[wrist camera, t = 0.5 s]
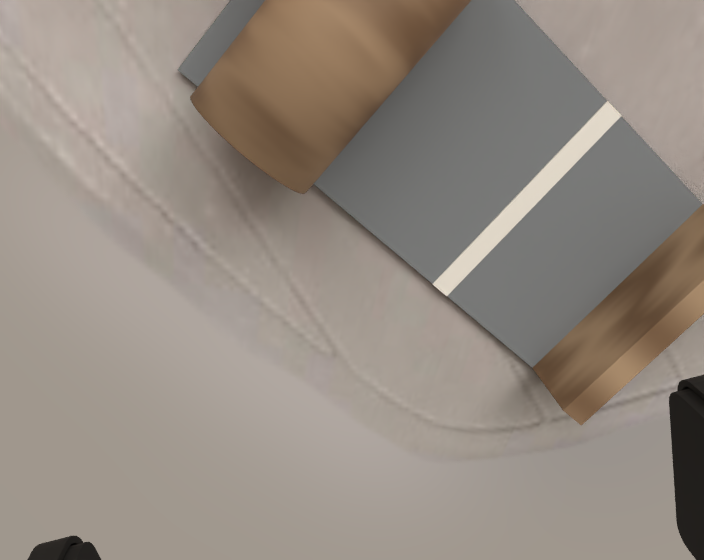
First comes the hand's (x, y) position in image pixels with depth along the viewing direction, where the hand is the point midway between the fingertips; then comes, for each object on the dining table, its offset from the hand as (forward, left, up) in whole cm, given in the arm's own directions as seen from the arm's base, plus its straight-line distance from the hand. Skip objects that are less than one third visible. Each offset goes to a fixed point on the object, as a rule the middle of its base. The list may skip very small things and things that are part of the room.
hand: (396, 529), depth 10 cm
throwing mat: (-6, +5, -27) cm, 29 cm away
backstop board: (-6, +19, -27) cm, 34 cm away
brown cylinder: (-6, -4, -27) cm, 28 cm away
